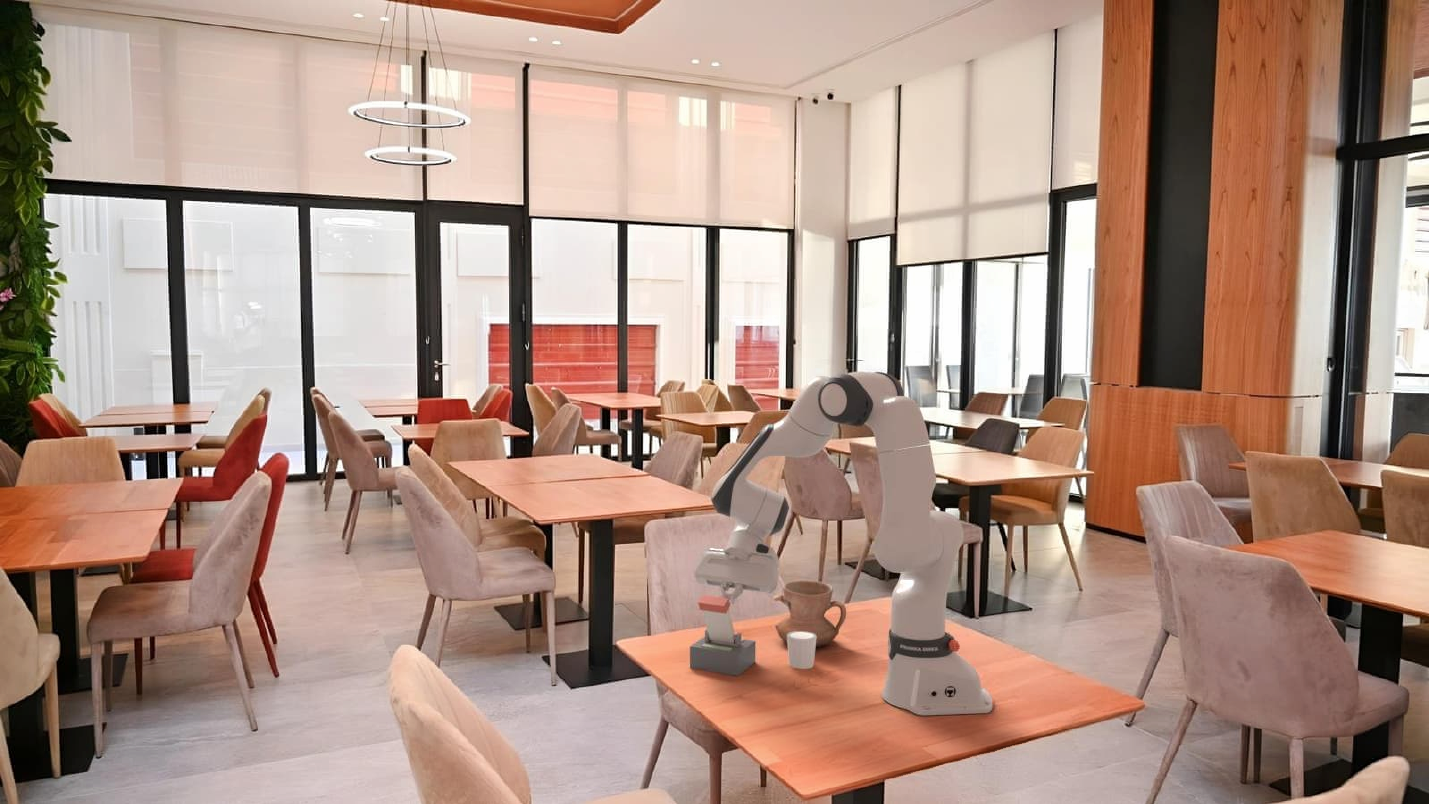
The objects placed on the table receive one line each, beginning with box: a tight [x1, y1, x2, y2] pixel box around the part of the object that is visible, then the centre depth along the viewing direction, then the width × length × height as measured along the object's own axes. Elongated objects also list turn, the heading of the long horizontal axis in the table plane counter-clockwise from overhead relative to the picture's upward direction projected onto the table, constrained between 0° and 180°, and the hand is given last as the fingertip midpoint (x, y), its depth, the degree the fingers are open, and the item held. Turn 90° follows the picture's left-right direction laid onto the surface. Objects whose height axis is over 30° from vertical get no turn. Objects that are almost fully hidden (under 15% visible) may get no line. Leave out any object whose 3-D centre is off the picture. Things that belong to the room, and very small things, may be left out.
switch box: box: [689, 628, 756, 677], centre depth 221 cm, size 10×12×8 cm
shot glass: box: [786, 631, 817, 670], centre depth 221 cm, size 7×7×7 cm
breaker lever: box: [698, 594, 736, 644], centre depth 218 cm, size 3×6×13 cm, turn 65°
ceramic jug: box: [773, 579, 847, 648], centre depth 237 cm, size 18×14×14 cm
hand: (726, 602), depth 223 cm, fingers closed
